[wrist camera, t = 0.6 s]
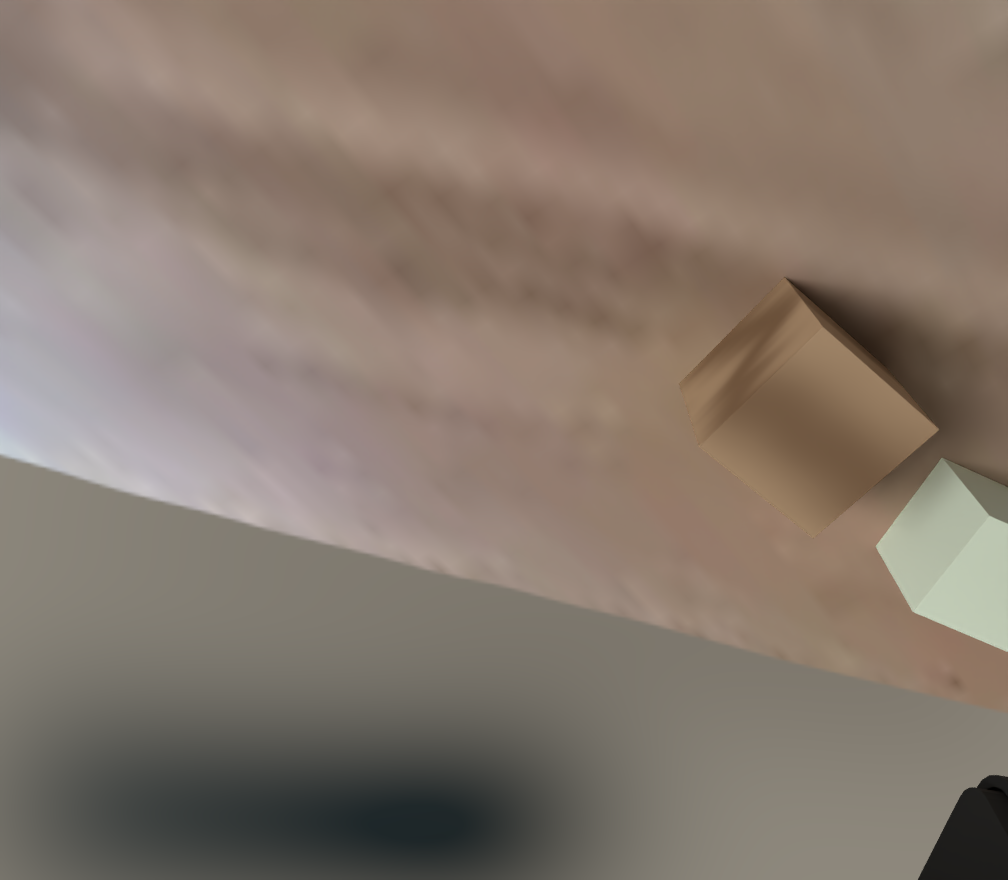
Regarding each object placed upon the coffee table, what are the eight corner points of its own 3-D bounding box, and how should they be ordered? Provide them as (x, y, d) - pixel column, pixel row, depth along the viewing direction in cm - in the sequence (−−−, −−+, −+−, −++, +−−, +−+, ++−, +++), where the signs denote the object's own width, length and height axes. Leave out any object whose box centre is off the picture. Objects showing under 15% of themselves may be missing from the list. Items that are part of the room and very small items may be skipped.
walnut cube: (784, 276, 38) (823, 326, 33) (886, 367, 40) (939, 429, 34) (678, 383, 40) (699, 446, 35) (779, 465, 42) (813, 538, 36)
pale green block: (941, 456, 41) (989, 515, 37) (1037, 500, 42) (1096, 563, 38) (875, 545, 43) (912, 611, 39) (967, 585, 44) (1015, 655, 40)
